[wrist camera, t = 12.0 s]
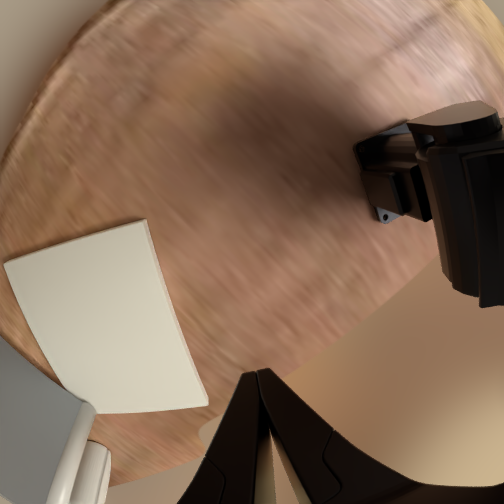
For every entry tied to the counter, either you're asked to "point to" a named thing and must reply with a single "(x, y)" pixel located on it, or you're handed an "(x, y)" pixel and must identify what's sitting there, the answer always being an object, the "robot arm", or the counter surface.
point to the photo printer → (92, 475)
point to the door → (38, 433)
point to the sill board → (108, 321)
